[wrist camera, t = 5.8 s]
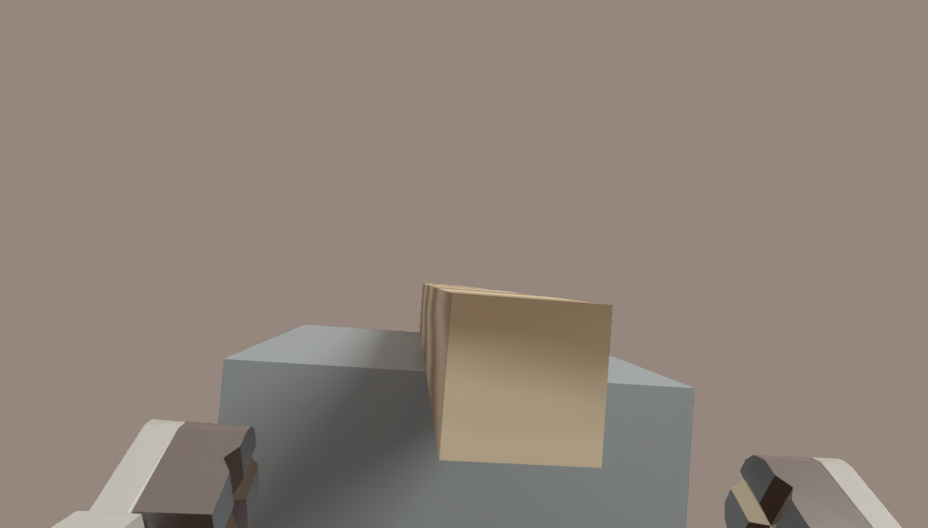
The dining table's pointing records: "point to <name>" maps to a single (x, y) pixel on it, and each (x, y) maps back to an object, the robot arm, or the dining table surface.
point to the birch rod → (515, 375)
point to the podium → (415, 448)
